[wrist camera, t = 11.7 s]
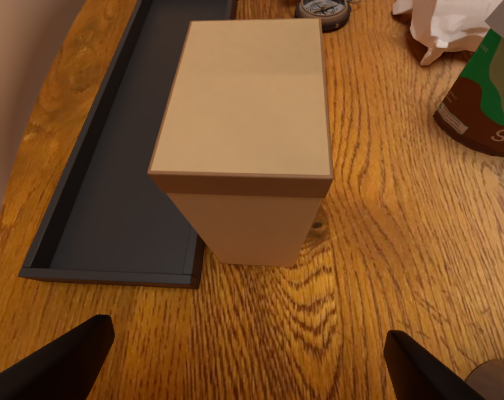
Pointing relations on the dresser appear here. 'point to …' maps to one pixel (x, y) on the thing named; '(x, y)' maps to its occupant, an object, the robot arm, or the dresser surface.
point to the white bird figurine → (447, 24)
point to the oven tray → (125, 168)
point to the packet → (248, 137)
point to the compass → (325, 11)
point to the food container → (479, 95)
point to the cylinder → (489, 380)
